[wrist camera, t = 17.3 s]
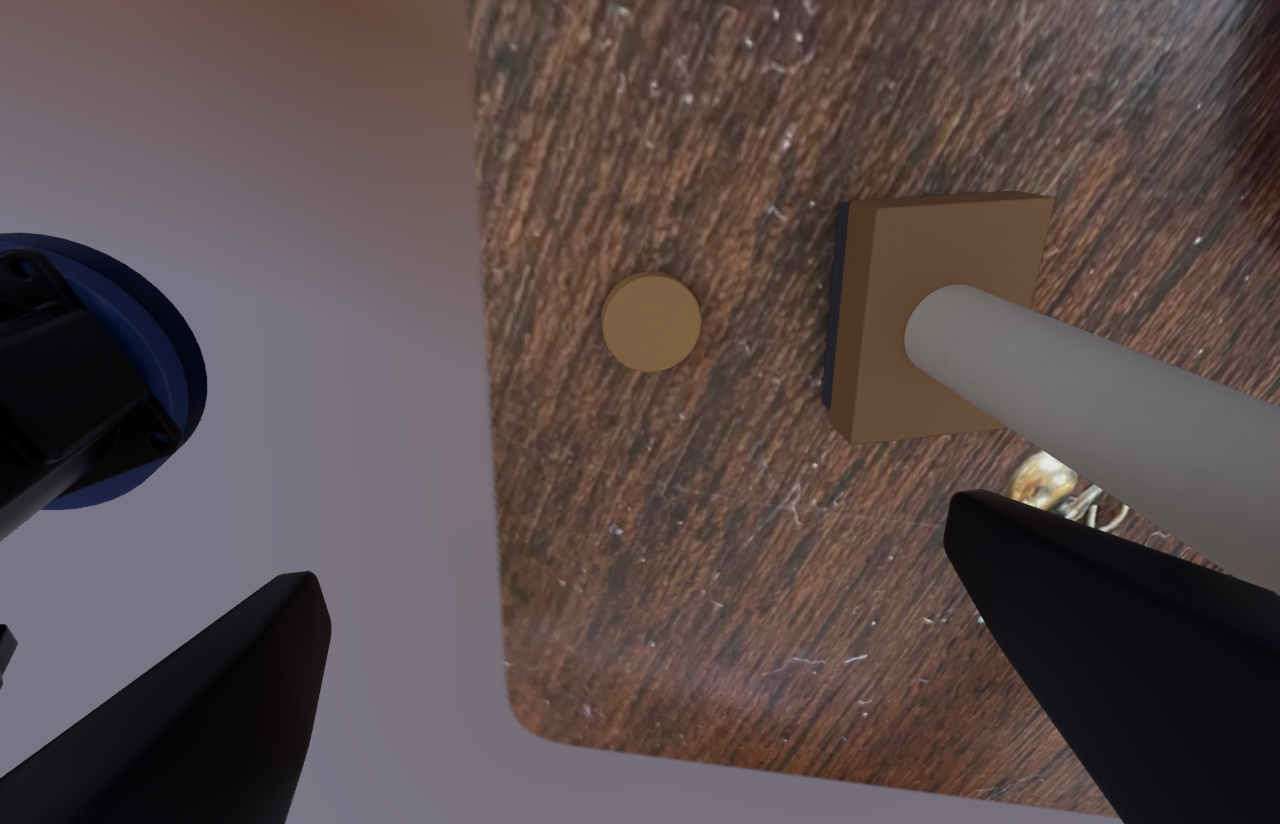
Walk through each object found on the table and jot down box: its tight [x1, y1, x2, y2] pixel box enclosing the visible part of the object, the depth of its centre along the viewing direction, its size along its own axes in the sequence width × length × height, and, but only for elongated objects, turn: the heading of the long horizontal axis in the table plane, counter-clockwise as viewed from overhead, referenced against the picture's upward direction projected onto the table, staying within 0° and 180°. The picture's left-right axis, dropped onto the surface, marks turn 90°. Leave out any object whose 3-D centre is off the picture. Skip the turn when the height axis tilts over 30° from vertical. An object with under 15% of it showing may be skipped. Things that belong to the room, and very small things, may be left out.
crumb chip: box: [601, 271, 702, 372], centre depth 21 cm, size 3×3×1 cm
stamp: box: [822, 191, 1280, 596], centre depth 14 cm, size 5×7×18 cm
